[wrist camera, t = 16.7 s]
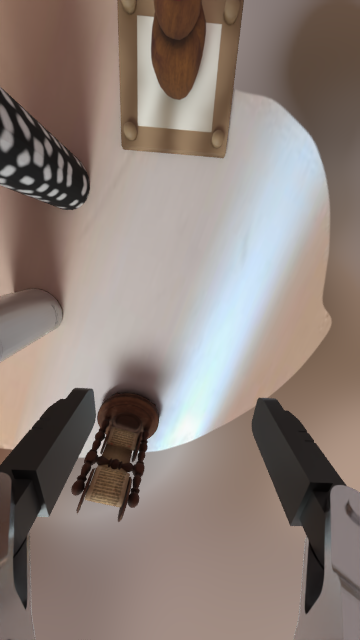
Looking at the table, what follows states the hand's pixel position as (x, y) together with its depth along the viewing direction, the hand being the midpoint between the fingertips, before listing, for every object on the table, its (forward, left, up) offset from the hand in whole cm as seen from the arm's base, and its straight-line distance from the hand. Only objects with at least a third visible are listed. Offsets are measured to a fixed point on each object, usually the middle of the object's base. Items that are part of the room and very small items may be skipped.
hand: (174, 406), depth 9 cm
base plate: (-2, +30, -30) cm, 43 cm away
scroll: (-10, -32, -30) cm, 45 cm away
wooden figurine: (-2, +30, -29) cm, 42 cm away
